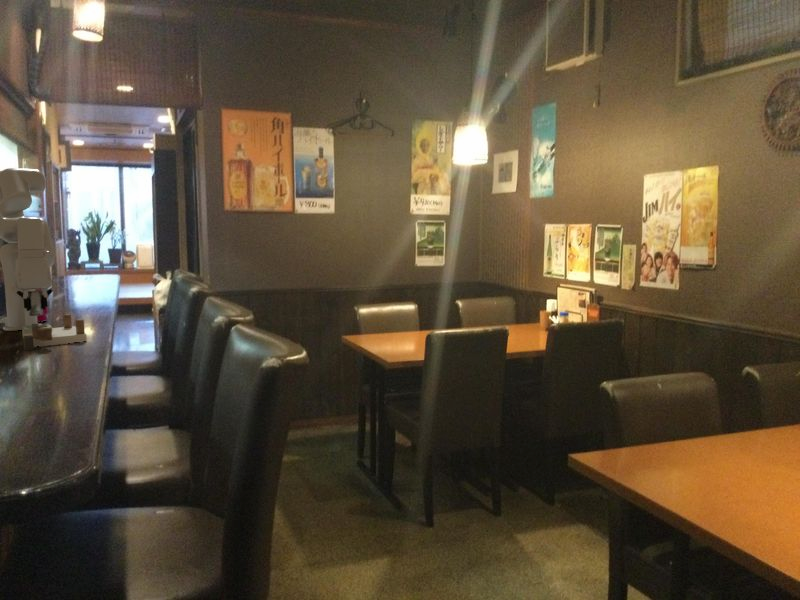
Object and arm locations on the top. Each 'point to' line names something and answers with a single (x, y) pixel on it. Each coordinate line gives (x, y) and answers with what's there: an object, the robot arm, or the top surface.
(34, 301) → the leg peg
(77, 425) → the top surface
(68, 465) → the top surface
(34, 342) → the seat board
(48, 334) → the hinged leg
